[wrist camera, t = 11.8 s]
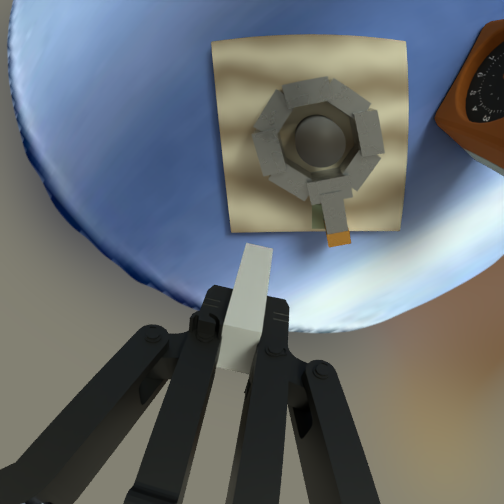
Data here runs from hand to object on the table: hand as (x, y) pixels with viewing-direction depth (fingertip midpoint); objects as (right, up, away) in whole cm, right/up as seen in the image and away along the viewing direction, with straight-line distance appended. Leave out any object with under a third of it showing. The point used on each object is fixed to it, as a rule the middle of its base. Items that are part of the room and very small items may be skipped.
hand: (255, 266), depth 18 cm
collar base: (+7, +15, +17) cm, 23 cm away
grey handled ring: (+8, +11, +16) cm, 21 cm away
